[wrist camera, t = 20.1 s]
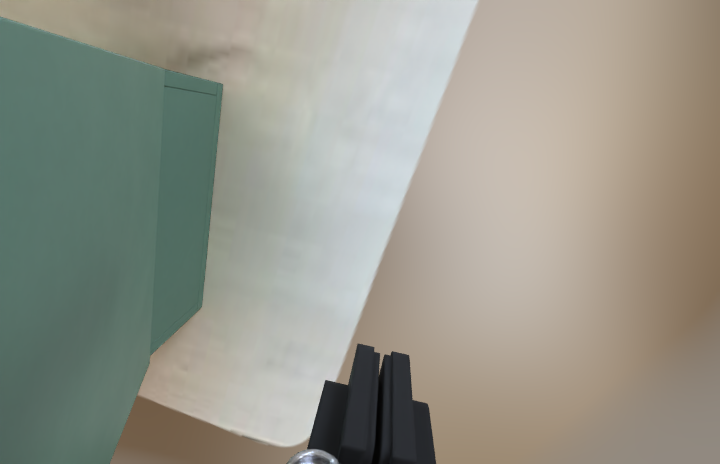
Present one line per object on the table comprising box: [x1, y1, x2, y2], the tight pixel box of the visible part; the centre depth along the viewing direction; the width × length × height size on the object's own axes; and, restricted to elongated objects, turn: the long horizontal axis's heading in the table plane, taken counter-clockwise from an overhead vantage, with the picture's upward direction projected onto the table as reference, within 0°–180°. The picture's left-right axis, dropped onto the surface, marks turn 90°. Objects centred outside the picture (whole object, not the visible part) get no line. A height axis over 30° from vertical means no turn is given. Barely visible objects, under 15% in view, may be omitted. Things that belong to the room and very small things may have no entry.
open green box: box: [150, 69, 223, 355], centre depth 24 cm, size 20×17×7 cm
